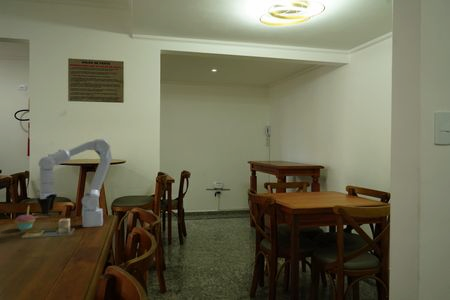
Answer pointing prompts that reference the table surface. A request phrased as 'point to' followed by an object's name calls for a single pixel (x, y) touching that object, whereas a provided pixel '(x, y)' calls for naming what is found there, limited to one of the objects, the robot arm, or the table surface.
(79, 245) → the table surface
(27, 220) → the cupcake
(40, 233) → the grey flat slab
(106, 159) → the robot arm
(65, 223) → the beech block
